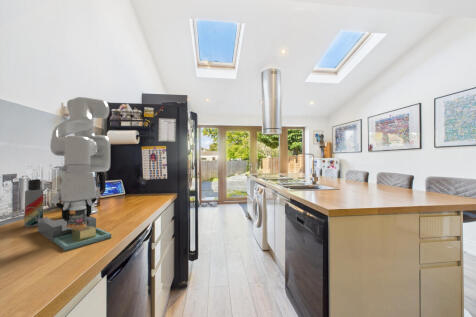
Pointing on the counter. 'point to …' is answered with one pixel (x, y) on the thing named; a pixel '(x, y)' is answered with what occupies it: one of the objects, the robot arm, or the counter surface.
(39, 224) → the slot block
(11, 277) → the counter surface
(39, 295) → the counter surface
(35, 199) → the lotion bottle
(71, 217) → the pill bottle
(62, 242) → the tray
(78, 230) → the chip
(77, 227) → the chip
